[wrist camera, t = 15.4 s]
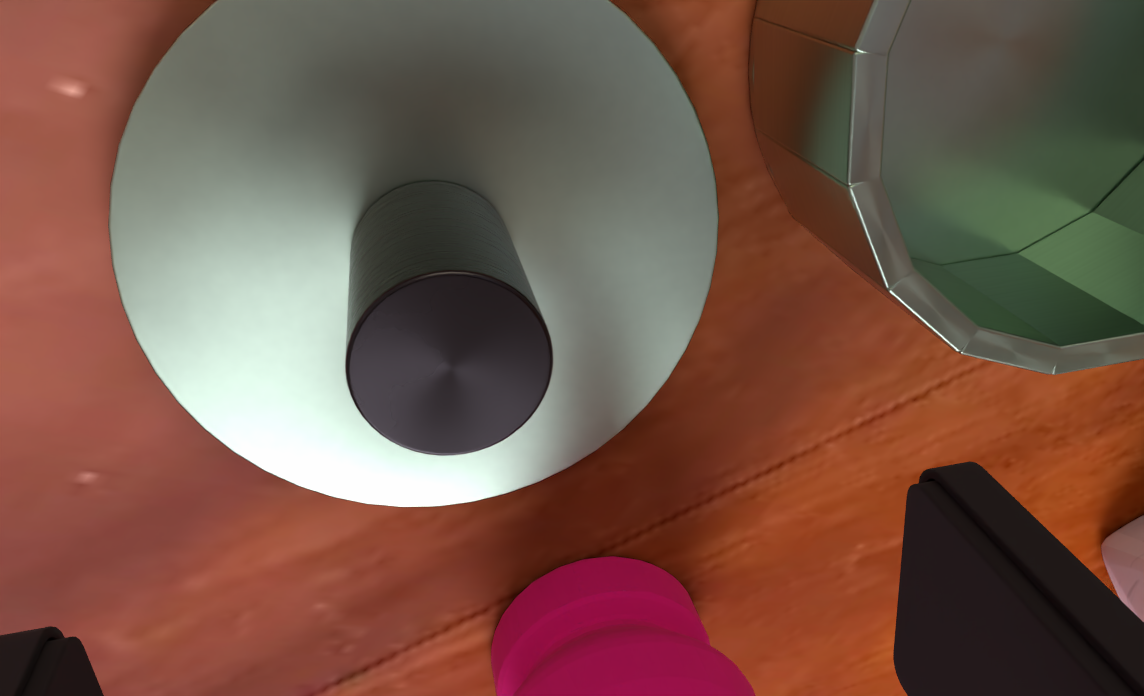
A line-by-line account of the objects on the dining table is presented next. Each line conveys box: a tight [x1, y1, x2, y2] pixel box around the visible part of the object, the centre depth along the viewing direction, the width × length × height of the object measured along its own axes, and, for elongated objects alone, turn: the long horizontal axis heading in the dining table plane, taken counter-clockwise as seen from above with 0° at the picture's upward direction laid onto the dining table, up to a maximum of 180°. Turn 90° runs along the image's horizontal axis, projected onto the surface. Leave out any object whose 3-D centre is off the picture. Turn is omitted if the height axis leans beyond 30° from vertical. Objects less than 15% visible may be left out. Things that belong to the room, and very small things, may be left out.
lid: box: [108, 0, 719, 507], centre depth 20 cm, size 13×13×7 cm
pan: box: [749, 0, 1144, 375], centre depth 21 cm, size 12×12×5 cm
